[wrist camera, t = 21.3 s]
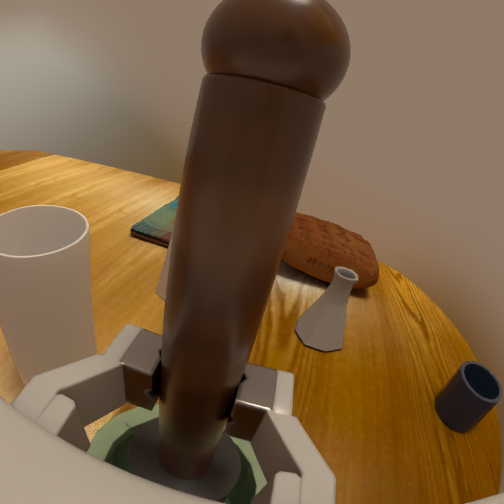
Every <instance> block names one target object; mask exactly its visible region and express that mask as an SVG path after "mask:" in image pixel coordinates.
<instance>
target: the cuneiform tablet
mask: <svg viewBox="0 0 504 504" xmlns="http://www.w3.org/2000/svg"><path fill="white" fill-rule="evenodd" d="M281 260H283V261H284V262H286V263H287V264H289V265H291V266H293V267H295V268H297V269H299V270H300V271H303V272H305V273H307V274H309V275H311V276H314V277H316V278H318V279H321V280H323V281H326V282H329V283H331V282H332V280H333V278H334V271H335V267H345V268H348V269H351V270H353V271H354V272H355V273H356V274H357V275H358V282H357V283H354V285H353V287H352V288H359V289H360V288H367V287H370V286H373V285H374V284H376V283H377V281H378V277H379V267H378V263H377V259H376V257H375V254H374V252H373V249H372V247H371V245H370V243H369V242H368V241H366V240H364V239H363V237H362V236H361V235H359V234H356V233H354V232H351V231H349V230H346V229H344V228H342V227H341V226H339V225H337V224H334V223H331V222H329V221H324V220H320V219H318V218H316V217H313V216H309V215H305V214H300V213H297V212H295V216H294V219H293V222H292V226H291V229H290V232H289V235H288V239H287V242H286V245H285V248H284V252H283V255H282V258H281Z"/></svg>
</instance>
